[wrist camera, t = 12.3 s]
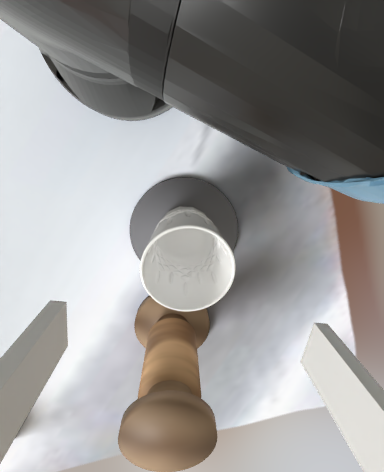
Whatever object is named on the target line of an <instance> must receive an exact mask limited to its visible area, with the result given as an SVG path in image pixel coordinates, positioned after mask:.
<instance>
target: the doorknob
mask: <svg viewBox="0 0 384 472" xmlns="http://www.w3.org/2000/svg"><path fill="white" fill-rule="evenodd" d="M209 328H210V322H209V316H208V311H207V308H204V309H201V310H197V311H177V310H172V309H169V308H167V307H165V306H163V305H161V304H159V303H158V302H156V301H155V300H154V299H153V298H152V297H151V296H148V297H147V298H146V299H145V300H144V301H143V302H142V304H141V305H140V307H139V309H138V312H137V315H136V319H135V333H136V336H137V338H138V340H139V341H140V343H141V344H142V345H143V346H144V347H145V348H146V351H145V357H144V363H143V369H142V375H141V381H140V387H139V393H138V399H137V400H136V401H134V402H133V403H132V404H131V405H130V406H129V407H128V408H127V410H126V411H125V413H124V415H123V418H122V421H121V426H120V431H119V436H118V444H119V448H120V450H121V452H122V454H123V455H124V456H125V457H126V459H128V460H129V461H130V462H131V463H133V464H135V465H136V466H138V467H141V468H143V469H146V470H150V471H156V472H175V471H180V470H185V469H188V468H190V467H193V466H195V465H197V464H199V463H200V462H202V461H203V460H205V459H206V458H207V457H208V456H209V455H210V454H211V453H212V451H213V449H214V448H215V445H216V442H217V430H216V422H215V416H214V413H213V411H212V409H211V408H210V406H209V405H208V404H207V403H206V402H205V401H203V400H202V399H201V388H200V377H199V366H198V355H197V348H199V347H200V346H201V345H202V344H203V342H204V341H205V340H206V338H207V336H208V333H209Z"/></svg>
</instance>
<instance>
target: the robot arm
mask: <svg viewBox="0 0 384 472" xmlns="http://www.w3.org/2000/svg"><path fill="white" fill-rule="evenodd" d="M0 19H1V20H2V21H4V22H5V23H6V24H8V25H9V26H10V27H12V28H13V29H14V30H16V31H17V32H18V33H20V34H21V35H23V36H24V37H25V38H27V39H28V40H29V41H31V42H32V43H33V44H35V45H36V46H37V47H39V49H40V52H41V53H42V56H43V58H44V59H45V61H46V63H47V65H48V67H49V68H50V70H51V71H52V73H53V74H54V76H55V77H56V78H57V80H58V81H59V82H60V83H61V84H62V86H63V87H64V88H65V89H66V90H67V91H68V92H69V93H70V94H71V95H72V96H74V97H75V98H76V99H77V100H78V101H80V102H81V103H83V104H84V105H86V106H87V107H89V108H91V109H93V110H95V111H97V112H99V113H101V114H103V115H105V116H108V117H111V118H115V119H119V120H126V121H138V120H145V119H149V118H153V117H155V116H158V115H160V114H162V113H164V112H166V111H167V110H169V109H170V108H172V107H174V108H176V109H178V110H180V111H182V112H184V113H186V114H187V115H189V116H191V117H193V118H195V119H197V120H199V121H201V122H203V123H205V124H207V125H208V126H210V127H212V128H214V129H216V130H218V131H220V132H222V133H224V134H226V135H228V136H230V137H231V138H233V139H235V140H237V141H239V142H241V143H243V144H245V145H247V146H249V147H251V148H252V149H254V150H256V151H258V152H260V153H262V154H264V155H266V156H268V157H270V158H272V159H273V160H275V161H277V162H279V163H281V164H283V165H285V166H286V167H287V169H288V171H290V172H291V173H292V174H294V175H296V176H297V177H299V178H301V179H303V180H305V181H307V182H310V183H314V184H320V185H323V186H328V187H330V188H332V189H334V190H337V191H339V192H341V193H343V194H345V195H348V196H350V197H353V198H355V199H359V200H363V201H369V202H375V203H382V204H384V0H0ZM67 346H68V339H67V308H66V302H62V301H50V302H49V303H48V304H47V305H46V306H45V307H44V309H43V310H42V311H41V312H40V313H39V314H38V315H37V317H36V318H35V319H34V320H33V321H32V322H31V324H30V325H29V326H28V327H27V328H26V329H25V331H24V332H23V333H22V334H21V335H20V336H19V338H18V339H17V340H16V341H15V342H14V343H13V345H12V346H11V347H10V348H9V349H8V350H7V351H6V353H5V354H4V355H3V356H2V357H1V358H0V463H1V461H2V460H3V458H4V456H5V454H6V453H7V451H8V449H9V447H10V446H11V444H12V442H13V440H14V439H15V437H16V435H17V434H18V432H19V430H20V428H21V427H22V425H23V423H24V421H25V420H26V418H27V416H28V414H29V413H30V411H31V409H32V407H33V406H34V404H35V402H36V400H37V399H38V397H39V395H40V393H41V392H42V390H43V388H44V386H45V385H46V383H47V381H48V379H49V378H50V376H51V374H52V372H53V371H54V369H55V367H56V365H57V364H58V362H59V360H60V358H61V357H62V355H63V353H64V351H65V350H66V348H67ZM301 364H302V365H303V367H304V369H305V371H306V372H307V374H308V376H309V378H310V379H311V381H312V383H313V385H314V386H315V388H316V390H317V392H318V393H319V395H320V397H321V399H322V400H323V402H324V404H325V406H326V407H327V409H328V411H329V412H330V414H331V416H332V418H333V419H334V421H335V423H336V425H337V426H338V428H339V430H340V432H341V433H342V435H343V437H344V438H345V440H346V442H347V444H348V445H349V447H350V449H351V451H352V453H353V454H354V456H355V458H356V459H357V461H358V463H359V465H360V467H361V468H362V470H363V472H384V390H383V388H382V387H381V386H380V385H379V384H378V383H377V381H376V380H375V379H374V378H373V377H372V376H371V374H370V373H369V372H368V371H367V370H366V369H365V367H364V366H363V365H362V364H361V363H360V361H359V360H358V359H357V358H356V357H355V356H354V354H353V353H352V352H351V351H350V350H349V349H348V347H347V346H346V345H345V344H344V343H343V342H342V340H341V339H340V338H339V337H338V336H337V335H336V333H335V332H334V331H333V330H332V329H331V328H330V326H329V325H328V324H323V323H314V325H313V327H312V330H311V333H310V336H309V339H308V342H307V345H306V347H305V350H304V353H303V356H302V359H301Z"/></svg>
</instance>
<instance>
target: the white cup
mask: <svg viewBox="0 0 384 472" xmlns="http://www.w3.org/2000/svg"><path fill="white" fill-rule="evenodd" d="M140 276H141V280H142V283H143V286H144V288H145V289H146V291H147V292H148V294H149V295H150V296H151V297H152V298H153V299H154V300H155V301H156V302H158V303H159V304H161V305H163V306H165V307H167V308H169V309H172V310H177V311H197V310H201V309H204V308H207V307H209V306H211V305H213V304H215V303H216V302H217V301H219V300H220V299H221V298H222V297H223V296H224V295H225V294H226V293H227V291H228V290H229V288H230V287H231V285H232V283H233V280H234V276H235V259H234V255H233V252H232V250H231V248H230V246H229V245H228V244H227V242H226V241H225V239H224V238H223V236H222V235H221V233H220V232H219V230H218V229H217V228H216V226H215V225H214V224H213V222H212V221H211V220H210V219H209V218H208V217H207V216H206V215H205V213H204V212H202V211H200V210H198V209H196V208H194V207H183V206H179V207H177V208H175V209H172V210H170V211H168V212H167V213H166V214H165V215H164V216H163V218H162V219H161V220H160V221H159V223H158V225H157V226H156V228H155V230H154V231H153V233H152V235H151V238H150V240H149V242H148V244H147V246H146V248H145V250H144V252H143V255H142V258H141V262H140Z"/></svg>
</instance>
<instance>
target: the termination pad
mask: <svg viewBox="0 0 384 472" xmlns="http://www.w3.org/2000/svg"><path fill="white" fill-rule="evenodd" d="M179 206H183V207H194V208H196V209H198V210H200V211H202V212H204V213H205V215H206V216H207V217H208V218H209V219H210V220H211V221H212V222H213V224H214V225H215V226H216V228H217V229H218V230H219V232H220V233H221V235H222V236H223V238H224V239H225V241H226V242H227V244H228V245H229V246H230V248H231V250H232V252H233V249H234V247H235V244H236V241H237V235H238V224H237V218H236V214H235V211H234V209H233V207H232V205H231V203H230V202H229V200H228V199H227V198H226V197H225V195H224V194H223V193H222V192H220V191H219V190H218V189H217V188H215V187H214V186H213V185H211V184H209V183H207V182H205V181H202V180H199V179H194V178H184V177H183V178H174V179H169V180H166V181H163V182H161V183H159V184H157V185H155V186H154V187H152V188H151V189H150V190H148V191H147V192H146V193H145V194H144V195H143V197H142V198H141V199H140V200H139V202H138V203H137V205H136V207H135V209H134V211H133V213H132V217H131V221H130V238H131V243H132V246H133V249H134V251H135V253H136V255H137V256H138V258H139V259H140V261H141V258H142V255H143V252H144V250H145V248H146V246H147V244H148V242H149V240H150V238H151V235H152V233H153V231H154V230H155V228H156V226H157V225H158V223H159V221H160V220H161V219H162V218H163V216H164V215H165V214H166V213H167V212H168V211H170V210H172V209H175V208H177V207H179Z"/></svg>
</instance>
